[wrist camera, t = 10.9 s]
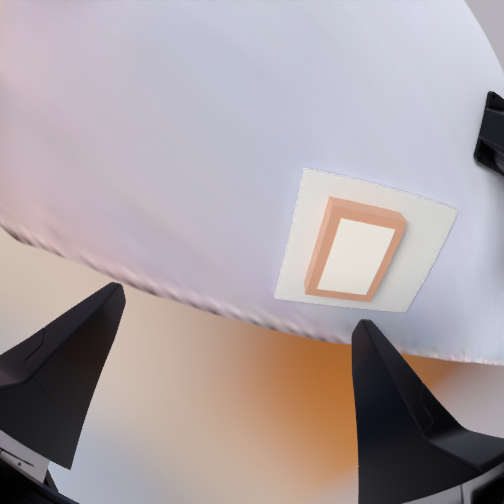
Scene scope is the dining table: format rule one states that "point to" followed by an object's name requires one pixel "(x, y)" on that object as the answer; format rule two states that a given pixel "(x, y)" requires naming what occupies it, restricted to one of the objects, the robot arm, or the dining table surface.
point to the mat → (404, 259)
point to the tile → (353, 250)
